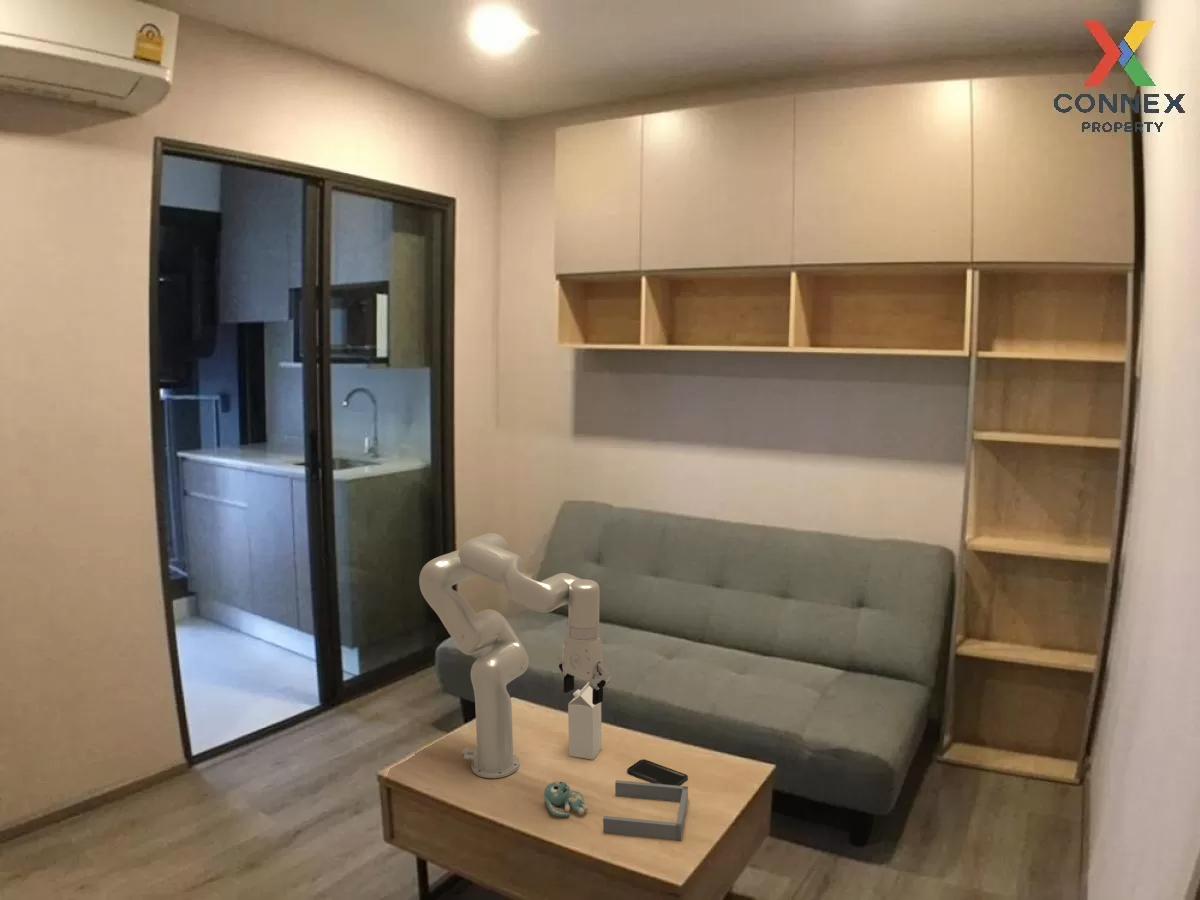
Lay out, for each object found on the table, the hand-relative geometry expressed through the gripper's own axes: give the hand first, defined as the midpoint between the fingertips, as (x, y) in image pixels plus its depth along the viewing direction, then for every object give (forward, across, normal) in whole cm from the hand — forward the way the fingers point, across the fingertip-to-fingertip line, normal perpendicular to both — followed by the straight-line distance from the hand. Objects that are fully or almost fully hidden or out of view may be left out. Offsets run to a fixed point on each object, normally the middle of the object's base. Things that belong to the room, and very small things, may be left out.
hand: (583, 696), depth 213 cm
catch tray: (+25, +19, +3) cm, 31 cm away
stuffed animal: (+26, +2, -8) cm, 27 cm away
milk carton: (+26, -14, +16) cm, 33 cm away
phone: (+26, +9, +19) cm, 33 cm away
